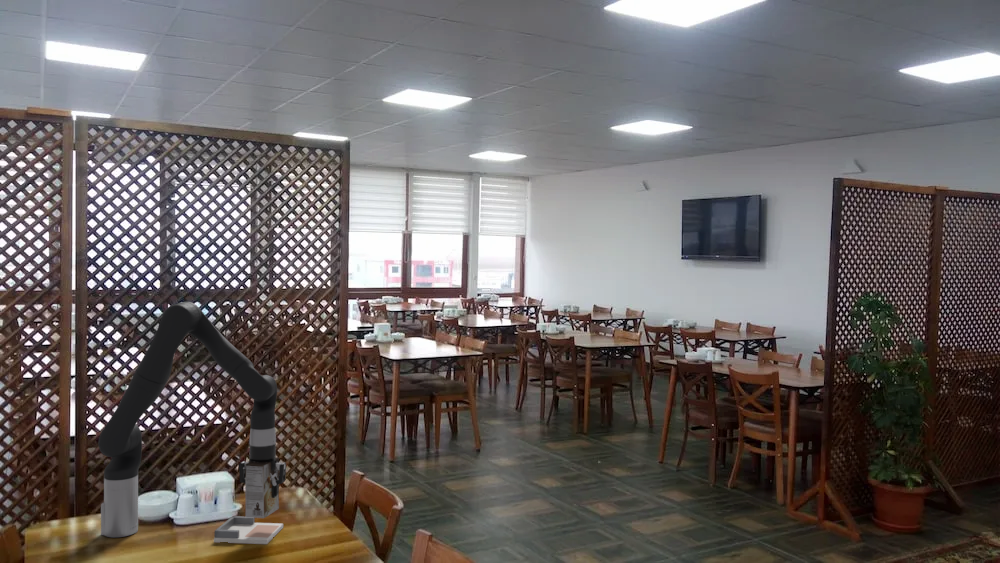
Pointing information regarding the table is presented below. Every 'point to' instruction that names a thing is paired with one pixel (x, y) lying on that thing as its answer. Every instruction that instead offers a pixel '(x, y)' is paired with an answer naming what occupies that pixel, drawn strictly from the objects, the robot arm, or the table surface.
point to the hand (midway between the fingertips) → (262, 496)
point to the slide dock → (246, 531)
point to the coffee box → (260, 489)
